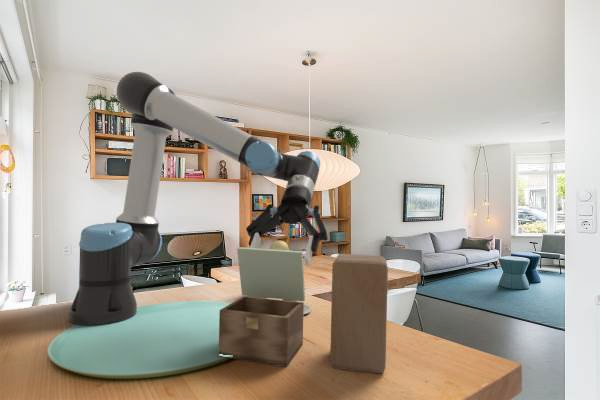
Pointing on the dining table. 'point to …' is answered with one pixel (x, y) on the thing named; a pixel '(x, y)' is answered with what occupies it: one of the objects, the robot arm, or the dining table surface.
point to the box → (261, 330)
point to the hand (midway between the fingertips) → (277, 259)
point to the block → (359, 313)
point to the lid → (272, 272)
